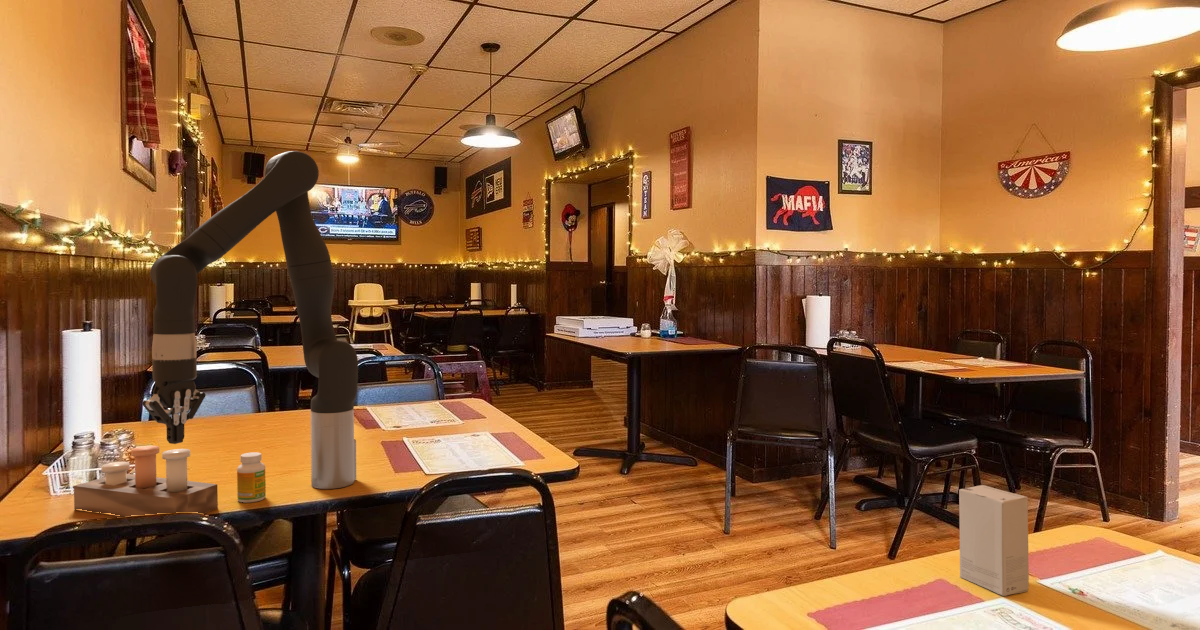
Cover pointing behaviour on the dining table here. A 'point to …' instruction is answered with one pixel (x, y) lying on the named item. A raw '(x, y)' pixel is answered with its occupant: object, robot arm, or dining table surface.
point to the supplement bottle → (251, 478)
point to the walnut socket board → (144, 498)
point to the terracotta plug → (145, 466)
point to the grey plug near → (176, 469)
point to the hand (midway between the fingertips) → (175, 442)
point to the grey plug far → (115, 472)
